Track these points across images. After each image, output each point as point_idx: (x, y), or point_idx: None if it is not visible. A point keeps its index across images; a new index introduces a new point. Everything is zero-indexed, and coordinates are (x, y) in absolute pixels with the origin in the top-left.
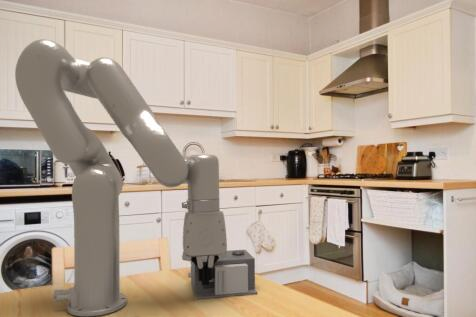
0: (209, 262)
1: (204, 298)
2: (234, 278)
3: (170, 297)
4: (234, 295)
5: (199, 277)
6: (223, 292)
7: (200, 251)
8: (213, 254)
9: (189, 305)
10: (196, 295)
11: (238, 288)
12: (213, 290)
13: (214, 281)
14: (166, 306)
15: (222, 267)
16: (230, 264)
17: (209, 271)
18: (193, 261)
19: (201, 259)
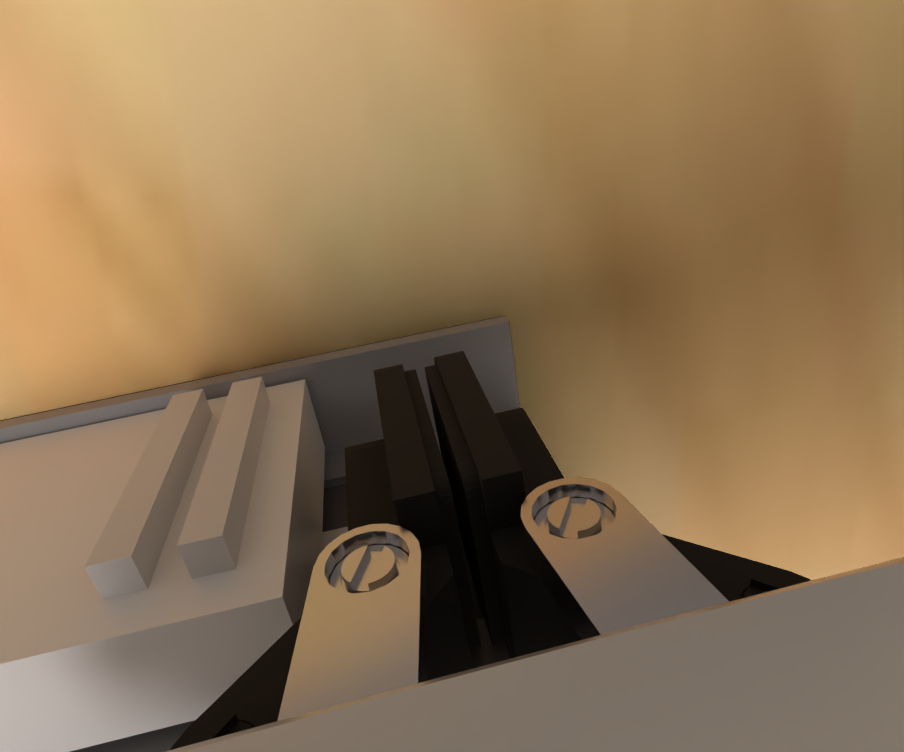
0: (394, 602)
1: (418, 335)
2: (12, 533)
3: (734, 366)
4: (93, 402)
5: (528, 426)
6: (212, 408)
7: (839, 734)
8: (251, 732)
9: (568, 147)
10: (503, 376)
11: (19, 464)
12: (334, 466)
13: (317, 505)
14: (792, 134)
15: (146, 625)
16: None
17: (383, 507)
18: (758, 576)
19: (605, 619)
